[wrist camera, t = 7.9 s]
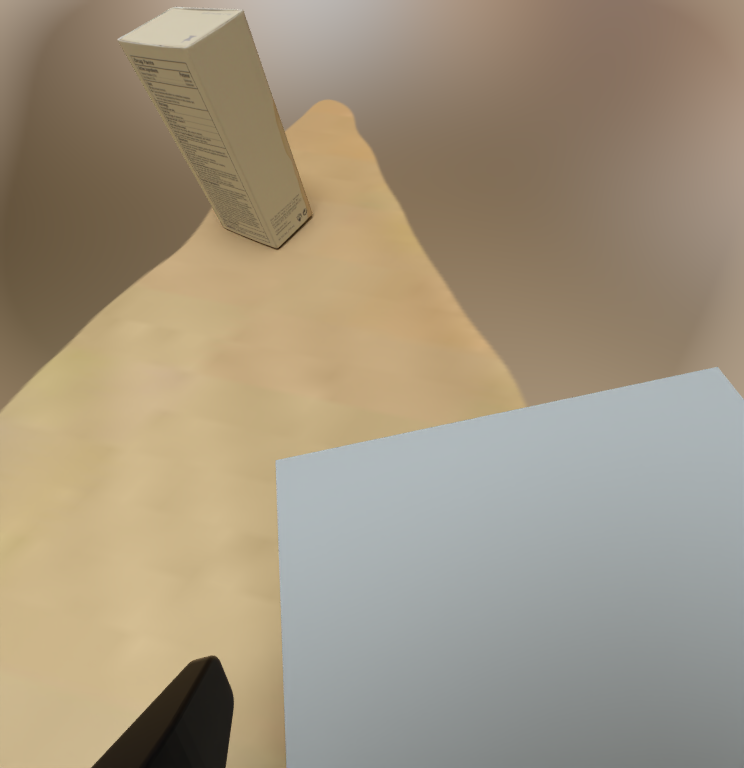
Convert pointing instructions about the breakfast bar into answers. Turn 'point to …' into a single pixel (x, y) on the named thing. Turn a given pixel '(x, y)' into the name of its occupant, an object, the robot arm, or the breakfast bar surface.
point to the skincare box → (222, 117)
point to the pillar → (522, 588)
